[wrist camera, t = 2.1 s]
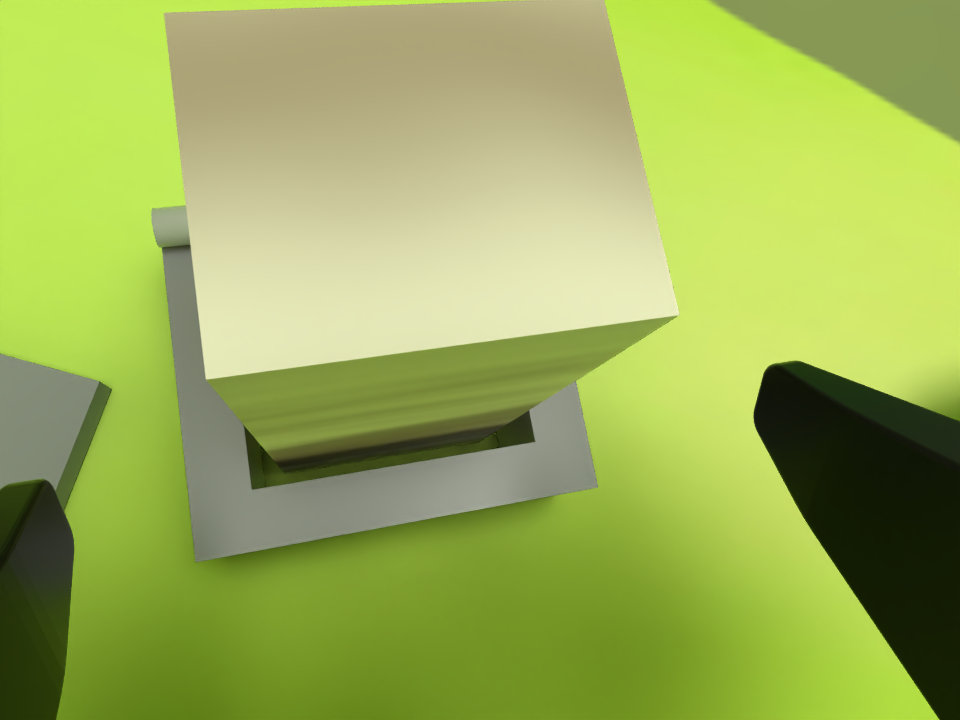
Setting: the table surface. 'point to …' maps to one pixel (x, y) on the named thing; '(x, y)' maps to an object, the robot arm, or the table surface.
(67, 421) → the rubber mat
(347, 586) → the table surface
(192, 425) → the dispenser sleeve
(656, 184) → the table surface
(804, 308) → the table surface
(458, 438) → the cream square pillar
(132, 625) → the table surface
